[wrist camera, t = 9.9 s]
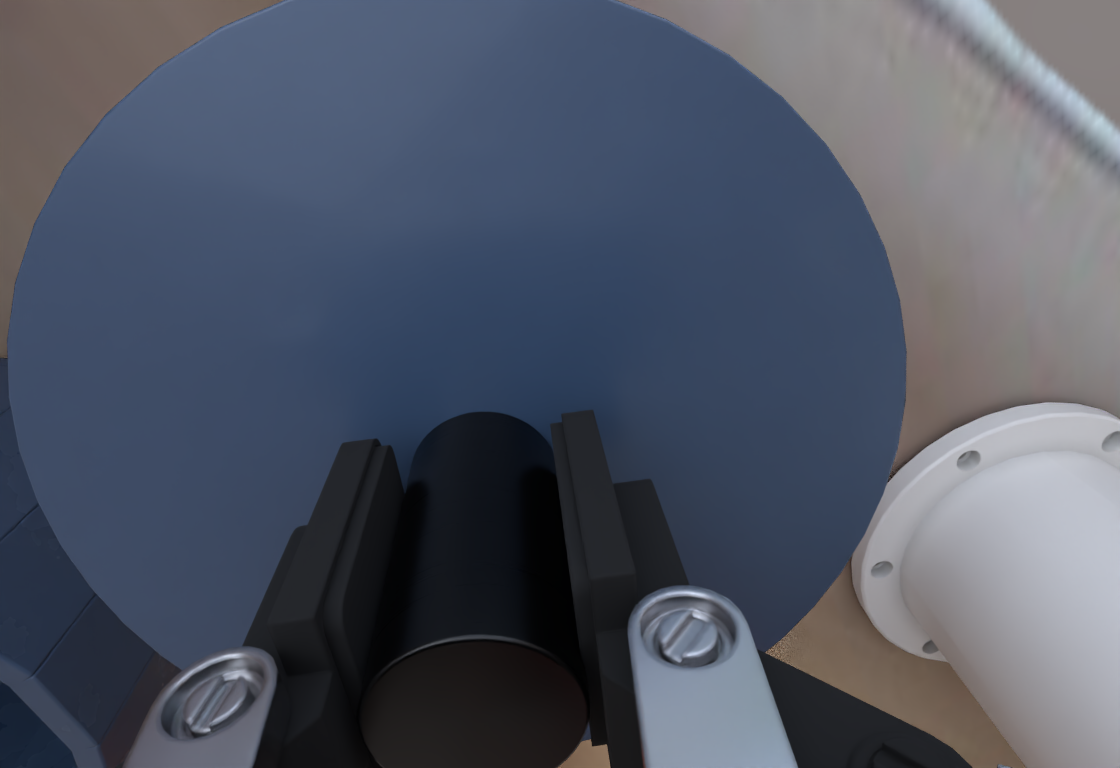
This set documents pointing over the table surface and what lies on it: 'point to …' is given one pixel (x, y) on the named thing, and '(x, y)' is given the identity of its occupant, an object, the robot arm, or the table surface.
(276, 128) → the lid
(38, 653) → the pot
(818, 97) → the table surface
